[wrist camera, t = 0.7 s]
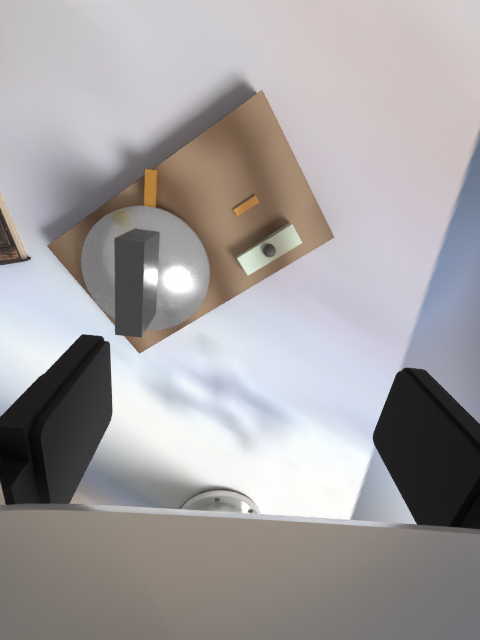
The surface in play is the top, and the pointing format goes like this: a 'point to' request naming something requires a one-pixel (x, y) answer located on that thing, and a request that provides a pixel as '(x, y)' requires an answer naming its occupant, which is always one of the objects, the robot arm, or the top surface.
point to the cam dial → (145, 266)
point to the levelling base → (225, 207)
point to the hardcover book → (9, 239)
